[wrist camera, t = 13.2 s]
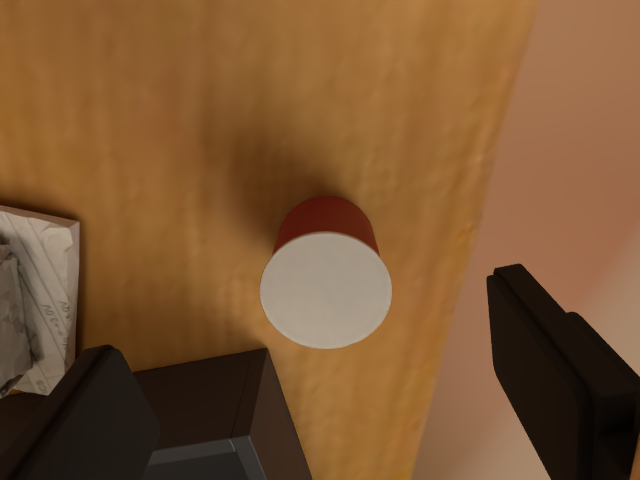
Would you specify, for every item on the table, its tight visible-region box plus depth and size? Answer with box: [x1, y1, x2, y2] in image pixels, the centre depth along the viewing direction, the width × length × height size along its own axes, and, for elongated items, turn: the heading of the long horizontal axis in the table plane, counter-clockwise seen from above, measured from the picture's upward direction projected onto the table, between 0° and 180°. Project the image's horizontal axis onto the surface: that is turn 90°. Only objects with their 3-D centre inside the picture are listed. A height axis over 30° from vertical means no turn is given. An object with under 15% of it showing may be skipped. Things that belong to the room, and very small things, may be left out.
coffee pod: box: [260, 197, 392, 349], centre depth 18 cm, size 5×5×5 cm
